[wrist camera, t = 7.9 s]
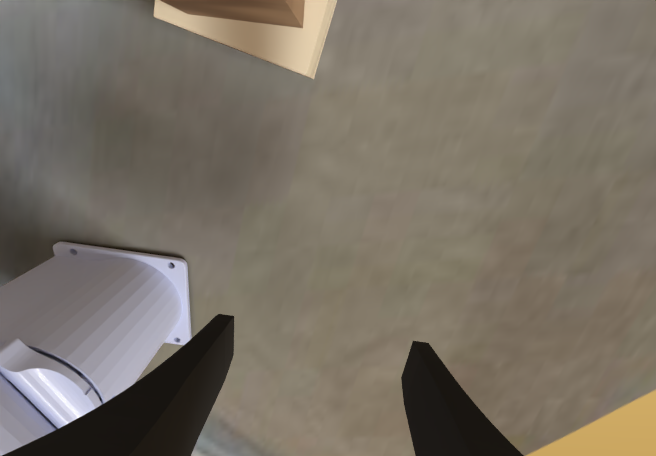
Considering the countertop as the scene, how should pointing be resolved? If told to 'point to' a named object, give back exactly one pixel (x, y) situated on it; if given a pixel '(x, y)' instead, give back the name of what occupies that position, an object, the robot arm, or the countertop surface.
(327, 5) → the maple block
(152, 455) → the robot arm
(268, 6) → the walnut cube
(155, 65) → the countertop surface
